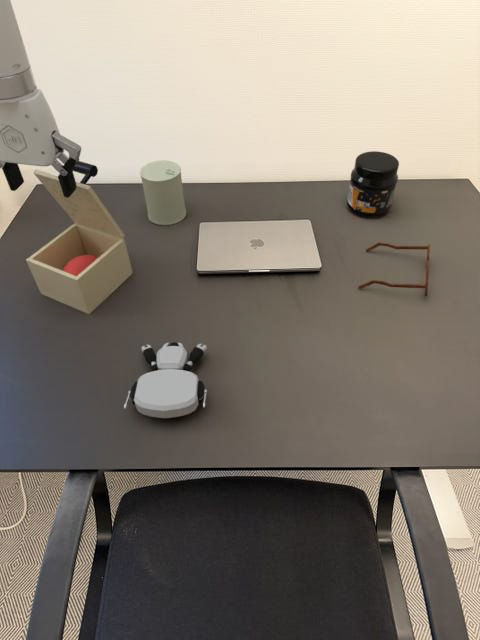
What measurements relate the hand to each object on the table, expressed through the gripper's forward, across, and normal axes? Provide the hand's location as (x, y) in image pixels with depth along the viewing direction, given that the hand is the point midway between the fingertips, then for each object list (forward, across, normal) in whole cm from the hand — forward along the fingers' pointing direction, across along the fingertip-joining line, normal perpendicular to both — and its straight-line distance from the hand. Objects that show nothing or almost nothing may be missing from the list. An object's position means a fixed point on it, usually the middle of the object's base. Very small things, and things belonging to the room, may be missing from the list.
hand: (44, 189), depth 79 cm
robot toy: (+22, +26, -19) cm, 39 cm away
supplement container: (+22, +56, +41) cm, 73 cm away
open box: (+22, +1, +2) cm, 23 cm away
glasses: (+22, +62, +17) cm, 68 cm away
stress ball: (+22, +1, +2) cm, 22 cm away
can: (+23, +9, +29) cm, 38 cm away
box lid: (+7, +2, +5) cm, 9 cm away
